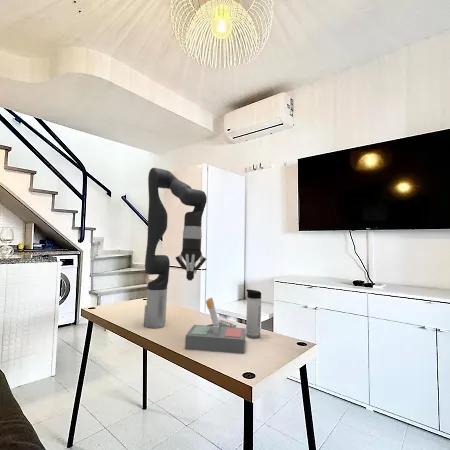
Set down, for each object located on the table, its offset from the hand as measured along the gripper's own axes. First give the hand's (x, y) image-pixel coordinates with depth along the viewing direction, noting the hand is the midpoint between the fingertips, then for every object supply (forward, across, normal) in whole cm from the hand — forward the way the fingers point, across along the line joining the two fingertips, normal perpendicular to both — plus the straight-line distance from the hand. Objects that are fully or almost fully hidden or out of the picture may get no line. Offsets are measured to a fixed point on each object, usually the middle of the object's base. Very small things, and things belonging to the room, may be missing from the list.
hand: (190, 280), depth 115 cm
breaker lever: (+18, +12, 0) cm, 22 cm away
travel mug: (+25, +26, +13) cm, 38 cm away
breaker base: (+24, +12, 0) cm, 27 cm away
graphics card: (+25, +9, +16) cm, 31 cm away
